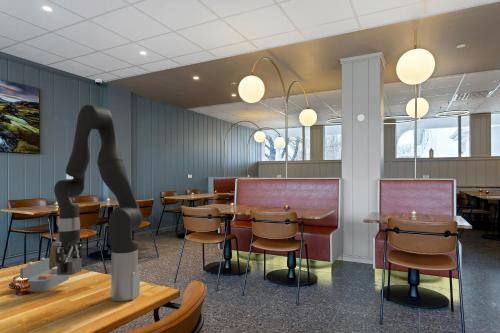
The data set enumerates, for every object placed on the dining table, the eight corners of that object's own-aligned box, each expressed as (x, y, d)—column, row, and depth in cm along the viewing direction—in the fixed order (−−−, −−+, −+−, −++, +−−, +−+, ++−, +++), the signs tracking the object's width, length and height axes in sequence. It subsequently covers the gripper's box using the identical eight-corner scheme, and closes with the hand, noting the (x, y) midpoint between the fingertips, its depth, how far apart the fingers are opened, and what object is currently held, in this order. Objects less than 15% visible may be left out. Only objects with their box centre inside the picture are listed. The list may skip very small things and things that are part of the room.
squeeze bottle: (61, 275, 143) (61, 235, 143) (43, 275, 143) (44, 235, 144) (71, 270, 151) (72, 232, 151) (55, 270, 151) (55, 232, 152)
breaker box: (68, 279, 137) (69, 255, 138) (44, 291, 122) (44, 265, 123) (46, 278, 138) (46, 255, 138) (19, 291, 123) (19, 265, 123)
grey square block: (82, 270, 129) (82, 257, 129) (72, 274, 123) (72, 262, 123) (67, 270, 130) (67, 258, 130) (56, 275, 123) (56, 262, 123)
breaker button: (51, 283, 129) (51, 273, 129) (46, 286, 125) (46, 276, 125) (44, 283, 129) (44, 273, 129) (38, 286, 126) (38, 276, 126)
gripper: (66, 231, 119) (67, 275, 119) (88, 226, 134) (88, 265, 133) (48, 232, 120) (48, 276, 119) (71, 226, 134) (71, 265, 134)
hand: (69, 270), depth 126 cm, fingers closed on grey square block, 6 cm apart
